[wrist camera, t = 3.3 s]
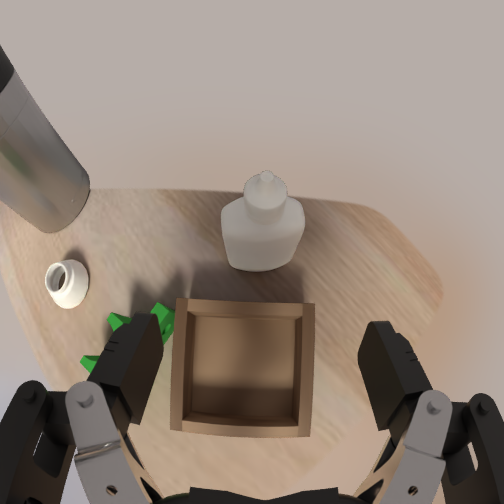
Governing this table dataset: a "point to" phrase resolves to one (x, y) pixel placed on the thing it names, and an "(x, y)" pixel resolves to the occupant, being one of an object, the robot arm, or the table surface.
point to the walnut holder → (242, 368)
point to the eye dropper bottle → (262, 225)
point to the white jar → (67, 283)
